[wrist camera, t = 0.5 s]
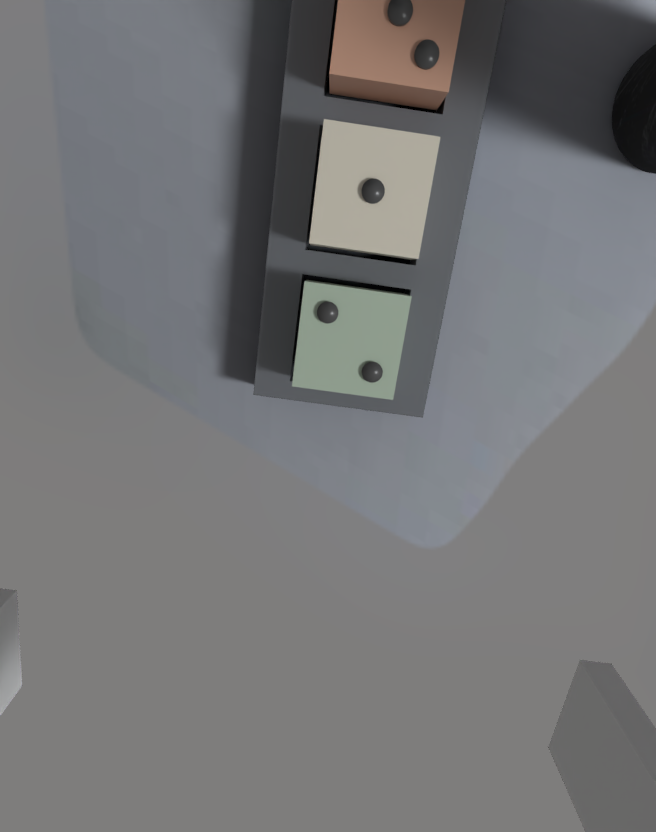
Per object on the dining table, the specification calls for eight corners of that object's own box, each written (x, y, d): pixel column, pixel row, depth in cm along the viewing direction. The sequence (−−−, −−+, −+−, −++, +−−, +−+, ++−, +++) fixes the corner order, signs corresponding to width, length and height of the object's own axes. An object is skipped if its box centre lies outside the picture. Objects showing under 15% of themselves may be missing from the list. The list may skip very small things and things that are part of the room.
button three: (345, -38, 26) (347, -78, 23) (459, -19, 26) (476, -57, 23) (329, 93, 28) (329, 72, 25) (436, 110, 28) (449, 91, 25)
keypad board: (303, -57, 27) (300, -88, 25) (500, -25, 28) (516, -53, 25) (258, 385, 35) (253, 394, 32) (416, 407, 35) (422, 417, 32)
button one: (324, 133, 28) (324, 118, 25) (429, 149, 28) (441, 135, 25) (311, 245, 30) (308, 243, 27) (410, 259, 30) (418, 259, 27)
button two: (307, 279, 31) (304, 281, 27) (404, 293, 31) (412, 296, 28) (295, 375, 32) (291, 387, 29) (387, 388, 32) (393, 400, 29)
